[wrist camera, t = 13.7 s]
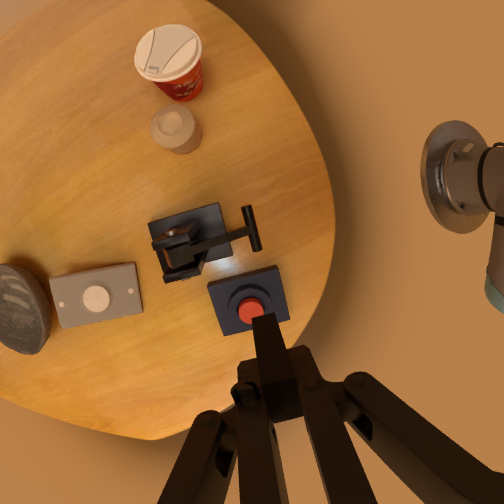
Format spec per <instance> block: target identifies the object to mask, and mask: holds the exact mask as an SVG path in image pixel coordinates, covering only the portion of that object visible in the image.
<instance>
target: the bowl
mask: <svg viewBox="0 0 504 504" xmlns="http://www.w3.org/2000/svg"><path fill="white" fill-rule="evenodd" d="M51 328H52V313H51V307H50V303H49V301H48V298H47V296H46V294H45V292H44V290H43V288H42V287H41V285H40V283H39V282H38V281H37V279H36V278H35V277H34V276H33V275H32V274H31V273H30V272H29V271H27V270H25V269H23V268H20V267H18V266H14V265H9V264H0V341H1V342H2V343H3V344H4V345H5V346H7V347H8V348H10V349H13V350H15V351H17V352H19V353H22V354H26V355H27V354H28V355H33V354H37V353H38V352H39V351H40V350H41V349H42V347H43V346H44V345H45V343H46V341H47V340H48V338H49V336H50V333H51Z"/></svg>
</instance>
